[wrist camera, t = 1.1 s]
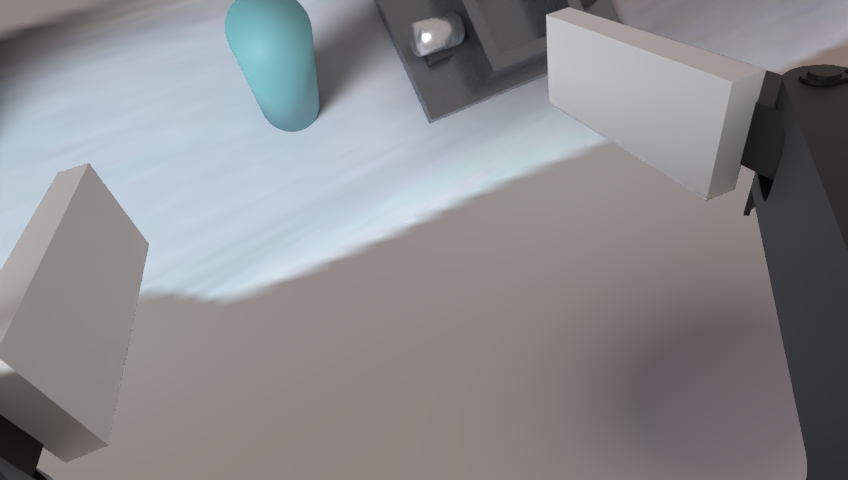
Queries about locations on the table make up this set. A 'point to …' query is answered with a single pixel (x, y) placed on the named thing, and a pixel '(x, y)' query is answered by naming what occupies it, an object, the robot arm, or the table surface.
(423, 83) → the stand
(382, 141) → the table surface
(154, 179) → the table surface
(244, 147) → the table surface
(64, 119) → the table surface
